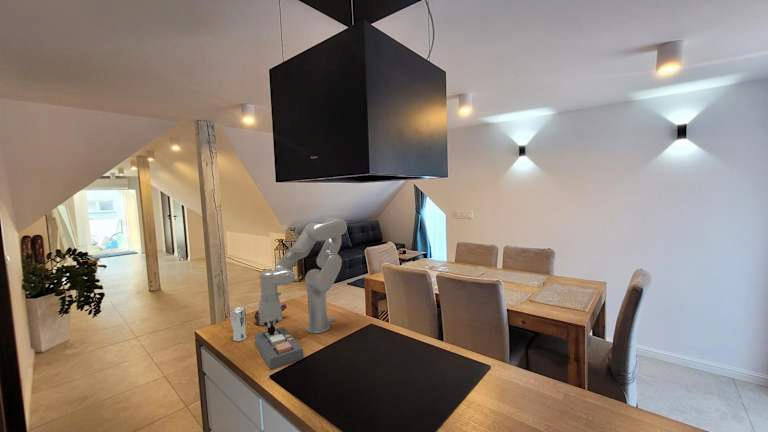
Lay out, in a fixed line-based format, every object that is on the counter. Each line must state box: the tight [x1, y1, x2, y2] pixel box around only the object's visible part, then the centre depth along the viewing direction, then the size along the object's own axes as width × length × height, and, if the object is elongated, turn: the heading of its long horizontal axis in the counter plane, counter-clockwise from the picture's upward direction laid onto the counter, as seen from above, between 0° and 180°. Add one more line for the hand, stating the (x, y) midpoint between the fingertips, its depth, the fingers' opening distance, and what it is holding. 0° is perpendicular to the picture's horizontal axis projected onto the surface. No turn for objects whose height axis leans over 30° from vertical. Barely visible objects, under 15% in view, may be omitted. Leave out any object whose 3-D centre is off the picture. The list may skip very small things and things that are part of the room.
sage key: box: [265, 330, 280, 339], centre depth 152 cm, size 6×6×3 cm
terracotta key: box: [275, 341, 292, 355], centre depth 137 cm, size 6×6×3 cm
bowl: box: [253, 303, 288, 323], centre depth 178 cm, size 16×13×8 cm
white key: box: [269, 334, 285, 346], centre depth 145 cm, size 6×6×3 cm
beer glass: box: [230, 306, 248, 342], centre depth 157 cm, size 7×7×15 cm
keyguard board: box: [253, 326, 304, 370], centre depth 145 cm, size 14×28×5 cm, turn 34°
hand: (271, 334), depth 152 cm, fingers closed
